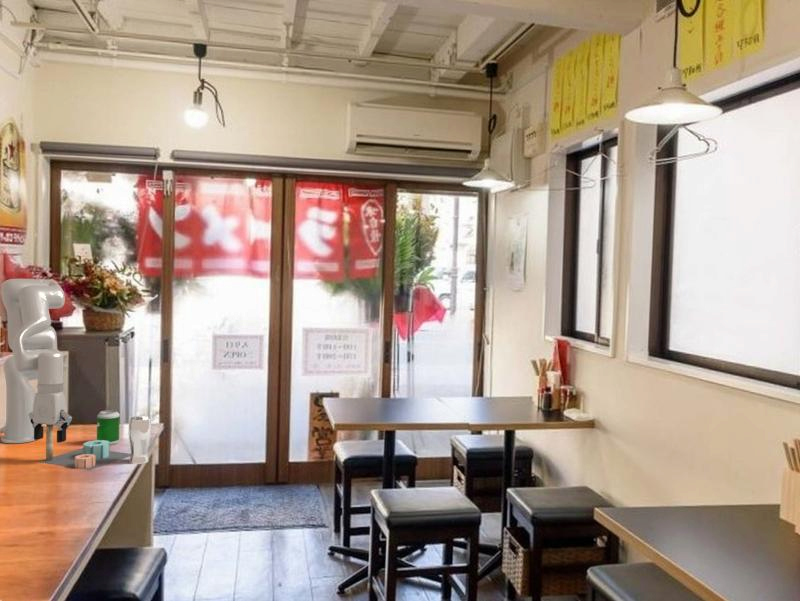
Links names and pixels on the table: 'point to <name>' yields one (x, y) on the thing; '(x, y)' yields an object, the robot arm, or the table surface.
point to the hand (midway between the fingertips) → (49, 440)
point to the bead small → (85, 461)
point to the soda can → (108, 426)
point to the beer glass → (139, 438)
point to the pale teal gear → (97, 448)
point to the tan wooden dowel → (49, 442)
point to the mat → (69, 457)
